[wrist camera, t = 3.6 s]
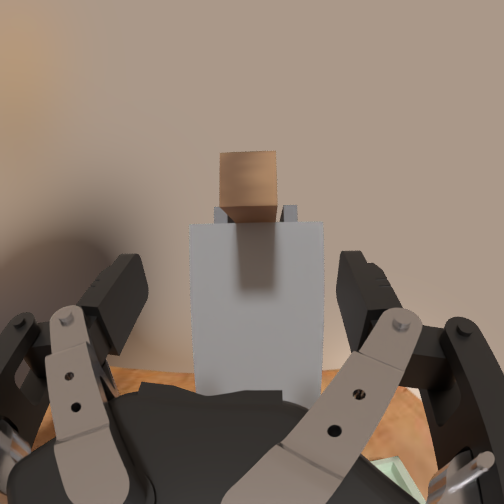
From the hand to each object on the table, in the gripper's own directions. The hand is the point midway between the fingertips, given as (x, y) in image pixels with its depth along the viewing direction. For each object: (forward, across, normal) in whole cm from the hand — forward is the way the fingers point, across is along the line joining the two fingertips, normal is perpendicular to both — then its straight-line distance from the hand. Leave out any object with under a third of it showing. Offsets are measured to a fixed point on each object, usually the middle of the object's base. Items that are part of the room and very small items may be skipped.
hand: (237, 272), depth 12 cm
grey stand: (+6, 0, +36) cm, 36 cm away
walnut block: (+18, 0, +6) cm, 19 cm away
